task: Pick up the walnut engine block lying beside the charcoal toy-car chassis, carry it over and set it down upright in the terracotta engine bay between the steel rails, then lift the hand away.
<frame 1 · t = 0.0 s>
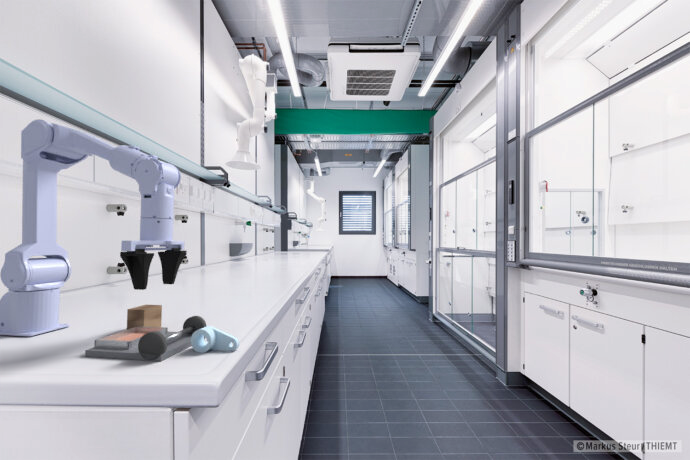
hand: (155, 286, 63), 10 cm above the table, tool pointing down, fingers open, 7 cm apart
chassis: (150, 346, 57), on the table
engine block: (144, 330, 67), on the table
mechanical part: (214, 352, 55), on the table
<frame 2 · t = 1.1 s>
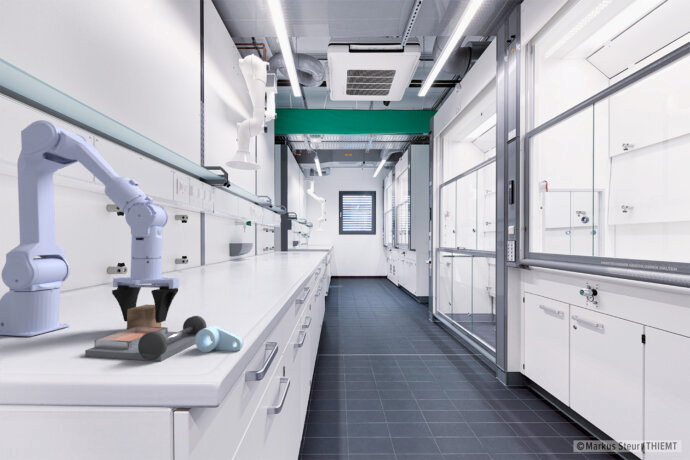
hand: (145, 321, 68), 2 cm above the table, tool pointing down, fingers open, 7 cm apart
nothing on the table moved.
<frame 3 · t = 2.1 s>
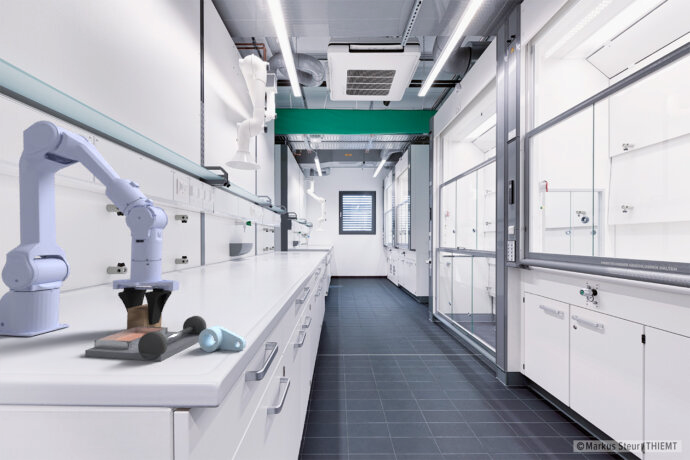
hand: (144, 323, 68), 1 cm above the table, tool pointing down, fingers closed on engine block, 4 cm apart
engine block: (144, 329, 67), on the table, touching gripper
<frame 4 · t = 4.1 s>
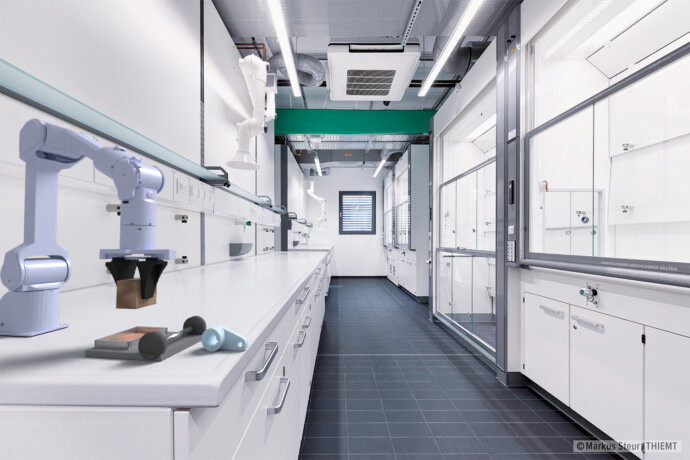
hand: (136, 298, 59), 8 cm above the table, tool pointing down, fingers closed on engine block, 4 cm apart
engine block: (136, 306, 59), point 7 cm above the table, touching gripper
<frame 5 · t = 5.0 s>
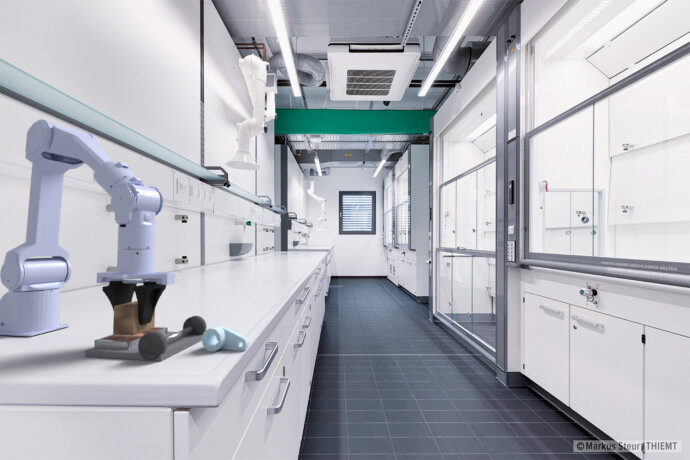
hand: (134, 322, 57), 4 cm above the table, tool pointing down, fingers closed on engine block, 4 cm apart
engine block: (134, 331, 57), point 3 cm above the table, touching gripper
when the fingers open (4 cm above the table, at t = 5.9 s): engine block stays where it is, resting on chassis.
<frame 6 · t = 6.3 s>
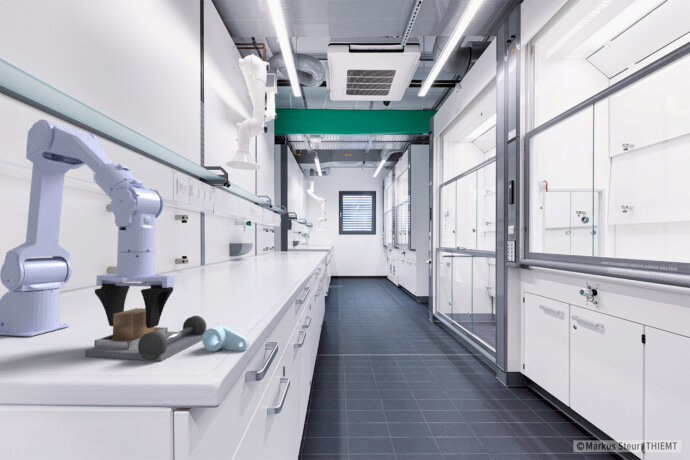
hand: (133, 325, 57), 4 cm above the table, tool pointing down, fingers open, 7 cm apart
engine block: (134, 338, 57), point 1 cm above the table, touching chassis
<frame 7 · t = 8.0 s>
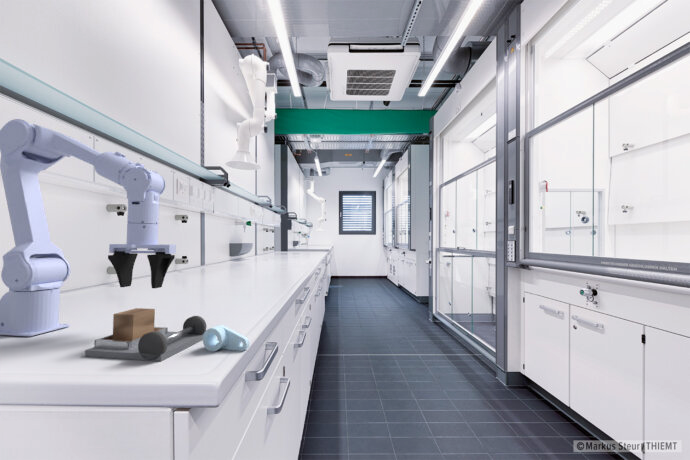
hand: (141, 287, 67), 9 cm above the table, tool pointing down, fingers open, 7 cm apart
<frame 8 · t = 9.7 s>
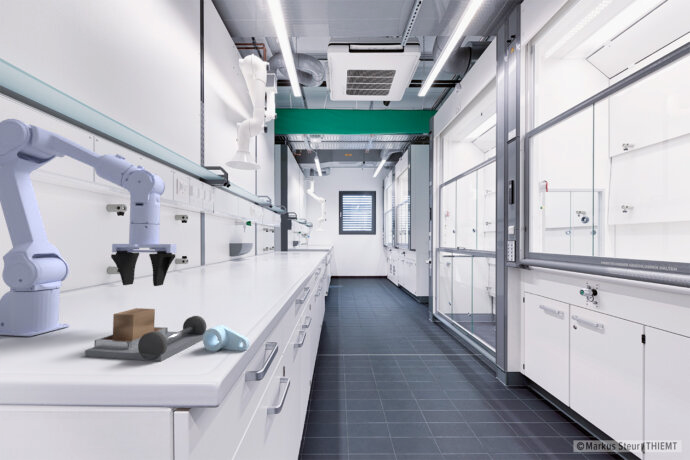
hand: (143, 285, 70), 9 cm above the table, tool pointing down, fingers open, 7 cm apart
at the end: engine block 0.1 cm from the target spot on the chassis, point 1.2 cm above the chassis's base; engine block tilted 0°; the gripper is holding nothing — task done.
